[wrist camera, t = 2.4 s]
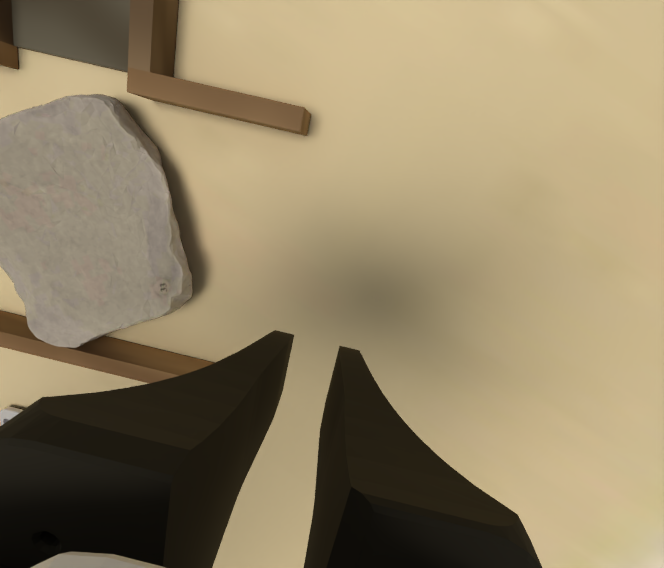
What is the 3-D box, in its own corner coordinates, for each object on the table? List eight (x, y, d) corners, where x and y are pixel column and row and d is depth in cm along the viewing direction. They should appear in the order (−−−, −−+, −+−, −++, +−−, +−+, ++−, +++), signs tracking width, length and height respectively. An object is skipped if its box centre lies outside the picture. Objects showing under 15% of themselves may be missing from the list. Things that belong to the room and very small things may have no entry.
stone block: (145, 87, 20) (-28, 151, 20) (101, 58, 15) (-124, 141, 15) (234, 281, 23) (88, 336, 23) (221, 306, 19) (38, 374, 19)
